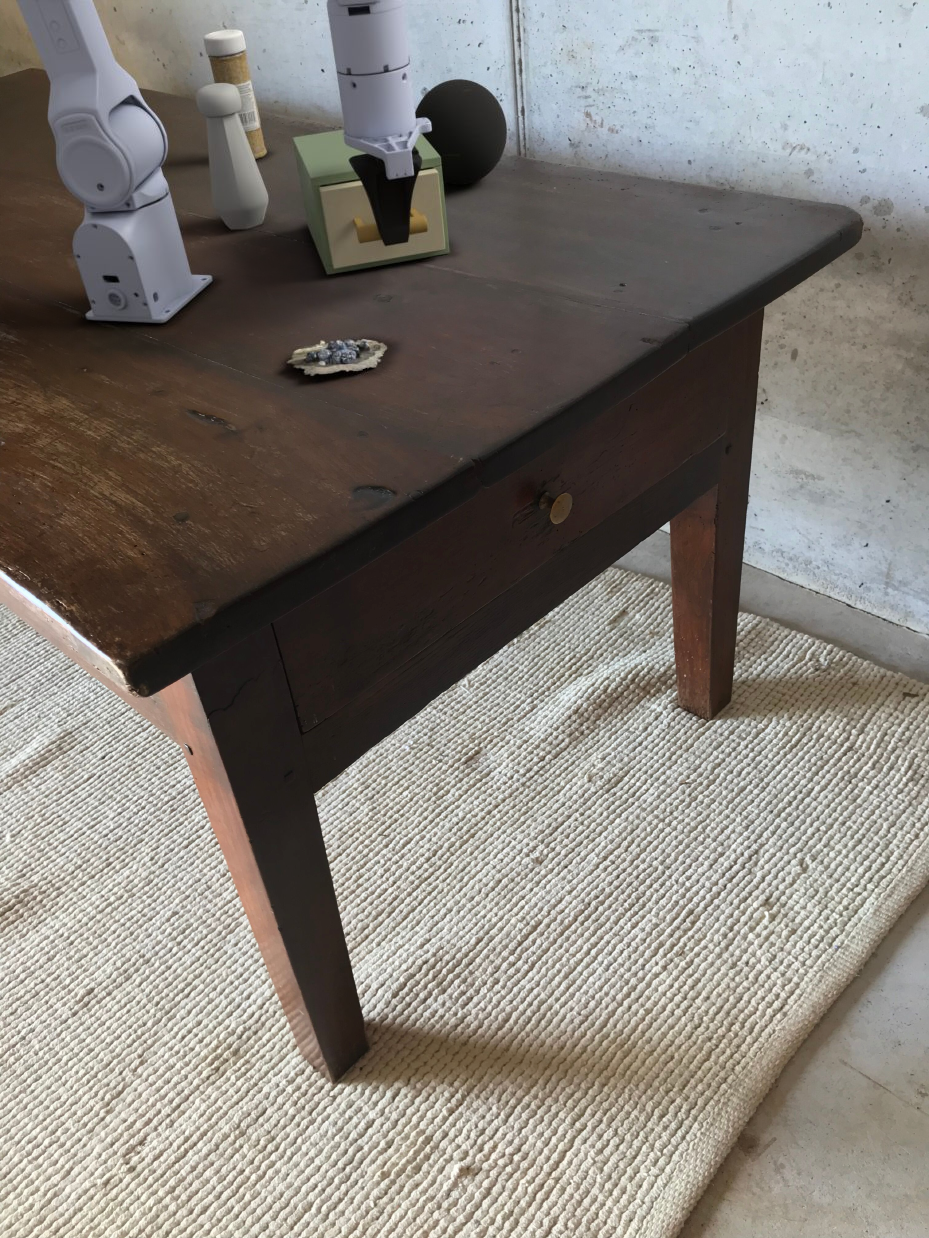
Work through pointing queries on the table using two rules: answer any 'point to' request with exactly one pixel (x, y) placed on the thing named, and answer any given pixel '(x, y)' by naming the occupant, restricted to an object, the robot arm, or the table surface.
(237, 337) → the table surface
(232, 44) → the sprinkles bottle
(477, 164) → the black sphere
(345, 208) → the drawer
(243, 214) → the salt shaker
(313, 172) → the cabinet
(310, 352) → the blueberries
